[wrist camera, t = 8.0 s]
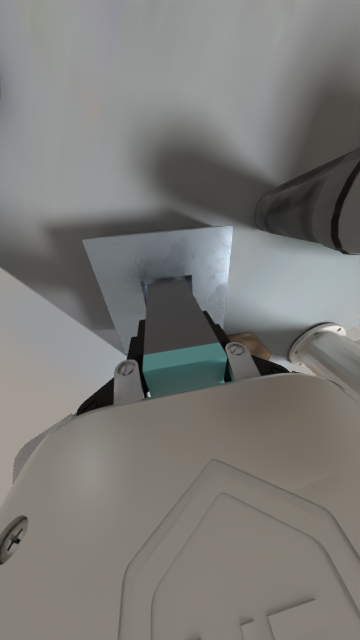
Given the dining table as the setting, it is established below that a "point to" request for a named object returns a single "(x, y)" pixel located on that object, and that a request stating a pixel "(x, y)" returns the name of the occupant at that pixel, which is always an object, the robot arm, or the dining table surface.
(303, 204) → the beverage cup
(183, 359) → the plug
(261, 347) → the wooden square hole block
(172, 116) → the dining table surface
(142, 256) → the socket block
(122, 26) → the dining table surface
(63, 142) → the dining table surface
